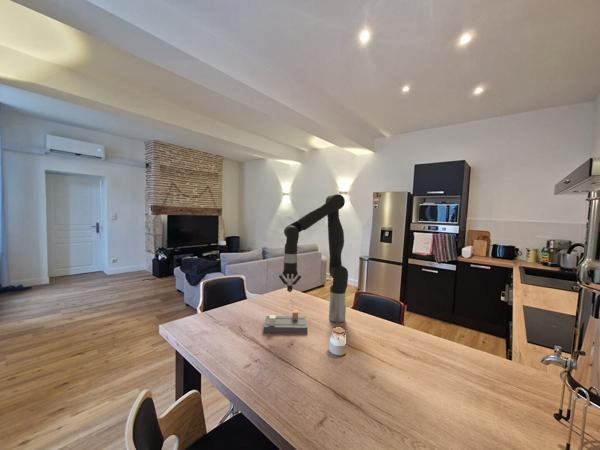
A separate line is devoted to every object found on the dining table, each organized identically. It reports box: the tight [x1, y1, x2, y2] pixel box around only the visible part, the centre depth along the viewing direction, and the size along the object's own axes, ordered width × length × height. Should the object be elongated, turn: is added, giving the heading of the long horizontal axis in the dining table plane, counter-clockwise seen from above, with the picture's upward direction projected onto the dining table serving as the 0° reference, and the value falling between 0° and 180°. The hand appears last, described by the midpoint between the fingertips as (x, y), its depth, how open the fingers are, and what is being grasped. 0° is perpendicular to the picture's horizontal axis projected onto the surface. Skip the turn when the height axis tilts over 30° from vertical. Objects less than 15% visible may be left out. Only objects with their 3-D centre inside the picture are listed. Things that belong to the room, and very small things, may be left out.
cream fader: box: [269, 314, 277, 326], centre depth 134 cm, size 3×4×4 cm
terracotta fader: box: [291, 309, 299, 320], centre depth 142 cm, size 3×4×4 cm
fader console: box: [263, 315, 308, 334], centre depth 138 cm, size 23×14×3 cm, turn 93°
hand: (289, 291), depth 142 cm, fingers closed
